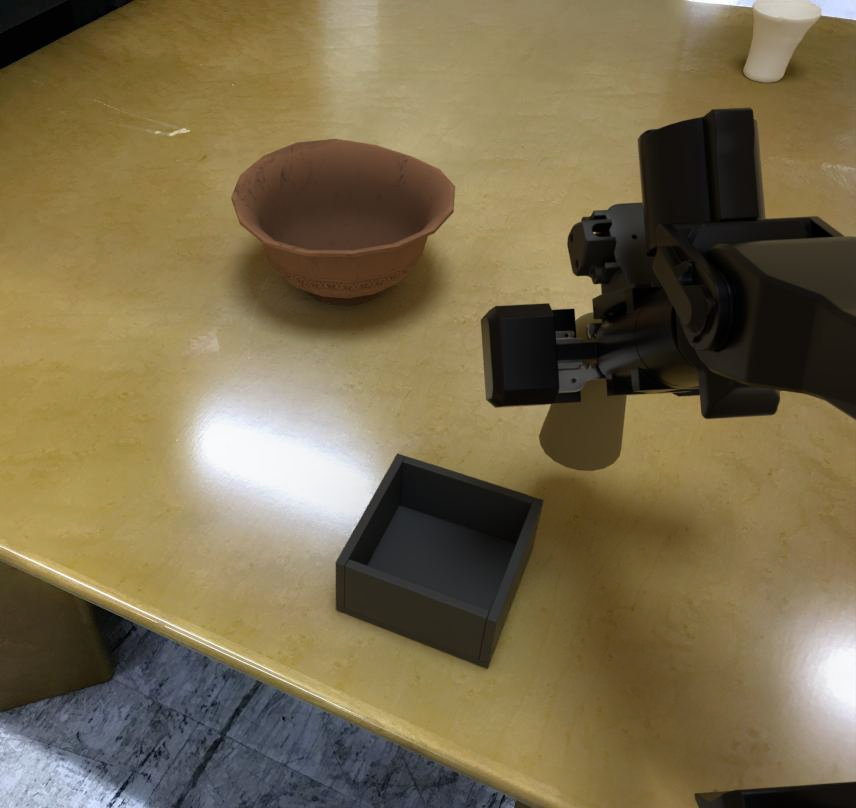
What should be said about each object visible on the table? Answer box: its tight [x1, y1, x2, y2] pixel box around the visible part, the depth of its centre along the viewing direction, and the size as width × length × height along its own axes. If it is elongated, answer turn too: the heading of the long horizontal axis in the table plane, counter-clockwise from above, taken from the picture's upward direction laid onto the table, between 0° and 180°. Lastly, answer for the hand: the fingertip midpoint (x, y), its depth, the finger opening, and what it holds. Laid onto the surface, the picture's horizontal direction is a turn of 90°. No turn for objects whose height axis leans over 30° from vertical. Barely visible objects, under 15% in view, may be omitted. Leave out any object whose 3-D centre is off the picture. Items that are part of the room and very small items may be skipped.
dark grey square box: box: [335, 453, 544, 669], centre depth 65 cm, size 11×11×6 cm
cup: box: [742, 0, 823, 84], centre depth 127 cm, size 9×9×10 cm
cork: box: [538, 311, 628, 472], centre depth 64 cm, size 6×6×11 cm
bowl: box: [230, 138, 456, 307], centre depth 91 cm, size 22×22×11 cm
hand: (590, 363), depth 64 cm, fingers closed on cork, 5 cm apart
